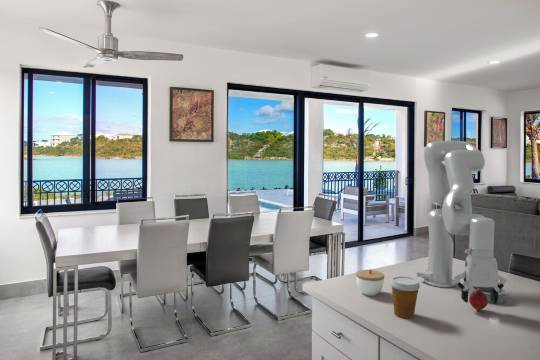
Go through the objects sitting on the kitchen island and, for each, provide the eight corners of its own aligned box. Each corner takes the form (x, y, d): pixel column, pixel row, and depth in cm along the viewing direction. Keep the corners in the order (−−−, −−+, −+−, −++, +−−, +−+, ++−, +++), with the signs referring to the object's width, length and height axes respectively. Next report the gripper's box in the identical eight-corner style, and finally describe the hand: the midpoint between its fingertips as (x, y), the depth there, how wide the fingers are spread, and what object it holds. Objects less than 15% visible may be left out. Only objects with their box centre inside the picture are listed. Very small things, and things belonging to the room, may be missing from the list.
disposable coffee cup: (406, 323, 128) (407, 287, 127) (383, 312, 136) (384, 278, 135) (424, 316, 133) (426, 282, 132) (401, 307, 141) (403, 274, 140)
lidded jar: (388, 292, 155) (389, 269, 155) (375, 300, 147) (376, 275, 147) (364, 286, 163) (364, 264, 162) (350, 293, 155) (350, 269, 154)
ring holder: (477, 303, 145) (478, 293, 145) (463, 291, 157) (464, 283, 157) (511, 304, 145) (511, 295, 144) (495, 292, 157) (495, 284, 156)
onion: (486, 315, 135) (487, 292, 134) (467, 311, 138) (468, 289, 137) (487, 309, 140) (488, 287, 139) (469, 306, 143) (470, 284, 142)
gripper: (459, 255, 134) (458, 304, 135) (512, 256, 133) (510, 306, 133) (451, 250, 141) (449, 297, 142) (501, 251, 140) (499, 298, 141)
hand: (479, 301), depth 138 cm, fingers open, 9 cm apart
